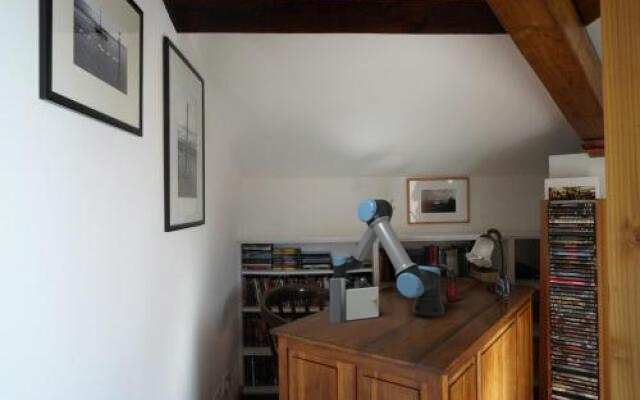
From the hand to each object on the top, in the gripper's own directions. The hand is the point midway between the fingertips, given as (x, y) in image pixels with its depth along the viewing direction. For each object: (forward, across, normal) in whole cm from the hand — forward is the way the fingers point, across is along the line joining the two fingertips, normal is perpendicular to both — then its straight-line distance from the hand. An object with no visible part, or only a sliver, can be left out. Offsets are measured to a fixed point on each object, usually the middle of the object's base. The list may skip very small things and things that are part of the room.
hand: (366, 296), depth 177 cm
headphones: (-15, -56, -10) cm, 59 cm away
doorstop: (-8, 0, -9) cm, 12 cm away
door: (+3, +3, -9) cm, 10 cm away
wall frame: (+2, +16, -10) cm, 19 cm away
